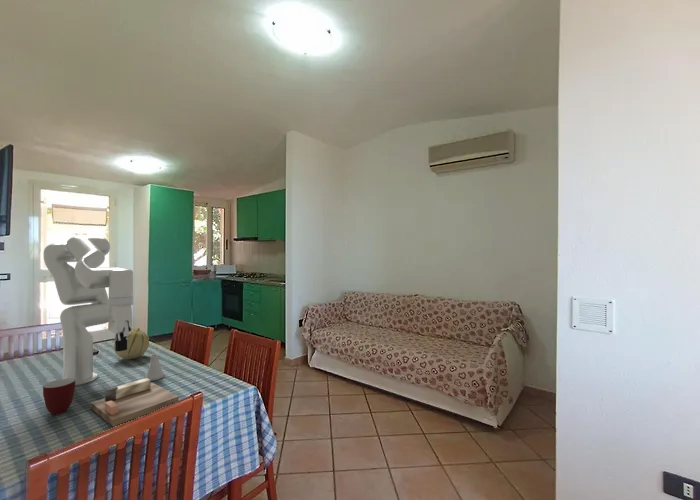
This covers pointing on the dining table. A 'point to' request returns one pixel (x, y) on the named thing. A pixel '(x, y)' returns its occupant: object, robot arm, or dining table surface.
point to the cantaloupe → (134, 345)
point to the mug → (59, 395)
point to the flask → (154, 369)
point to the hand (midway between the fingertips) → (121, 350)
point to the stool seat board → (135, 404)
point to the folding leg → (127, 389)
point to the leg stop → (111, 407)
